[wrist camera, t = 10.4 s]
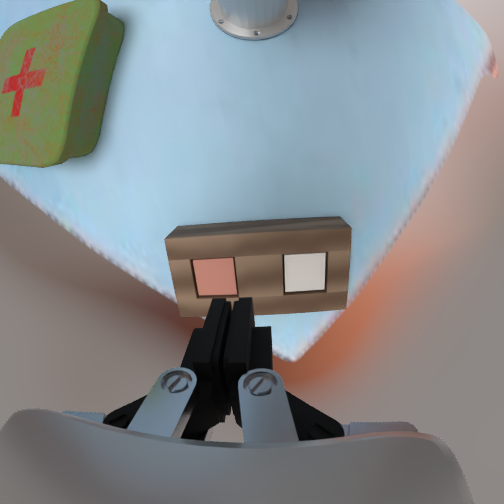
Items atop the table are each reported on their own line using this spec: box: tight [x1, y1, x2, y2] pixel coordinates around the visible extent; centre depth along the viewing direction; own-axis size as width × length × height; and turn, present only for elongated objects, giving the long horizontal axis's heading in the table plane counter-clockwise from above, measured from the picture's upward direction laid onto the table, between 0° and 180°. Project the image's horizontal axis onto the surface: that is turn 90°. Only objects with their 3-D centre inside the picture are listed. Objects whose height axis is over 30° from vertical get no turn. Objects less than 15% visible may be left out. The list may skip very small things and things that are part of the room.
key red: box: [193, 257, 238, 295], centre depth 39 cm, size 5×5×4 cm
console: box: [164, 216, 352, 317], centre depth 39 cm, size 12×24×6 cm, turn 94°
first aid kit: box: [0, 0, 124, 168], centre depth 28 cm, size 26×26×10 cm
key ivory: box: [283, 252, 326, 292], centre depth 38 cm, size 5×5×4 cm
